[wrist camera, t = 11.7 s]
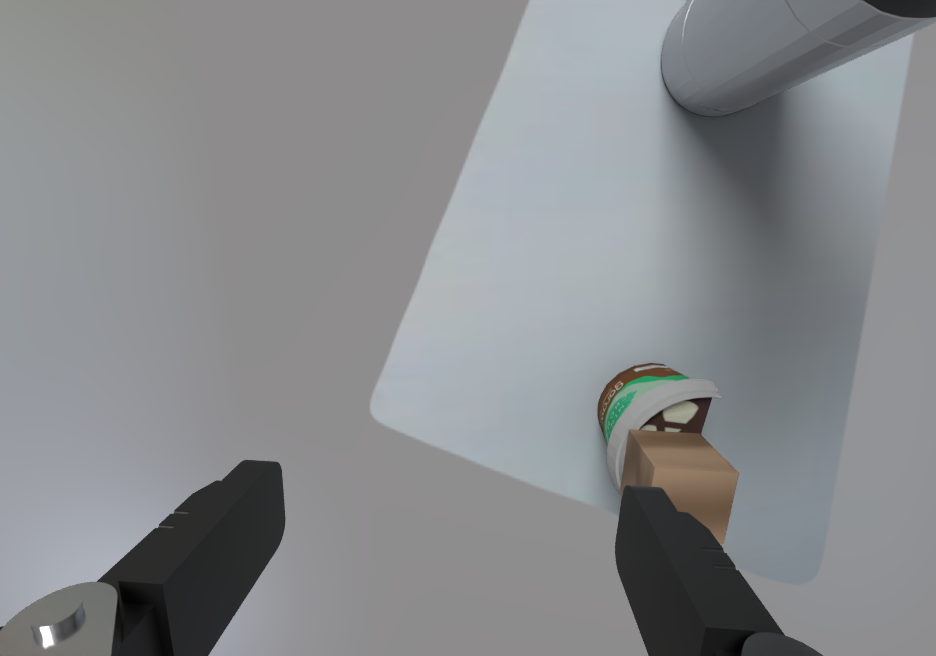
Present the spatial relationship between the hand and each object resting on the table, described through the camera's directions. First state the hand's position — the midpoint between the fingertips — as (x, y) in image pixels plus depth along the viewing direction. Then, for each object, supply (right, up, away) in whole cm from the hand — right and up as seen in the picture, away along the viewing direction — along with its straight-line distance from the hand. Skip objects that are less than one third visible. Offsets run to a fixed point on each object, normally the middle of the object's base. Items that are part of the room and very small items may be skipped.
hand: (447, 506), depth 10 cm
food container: (+15, -3, +31) cm, 35 cm away
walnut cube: (+14, -6, +21) cm, 26 cm away
